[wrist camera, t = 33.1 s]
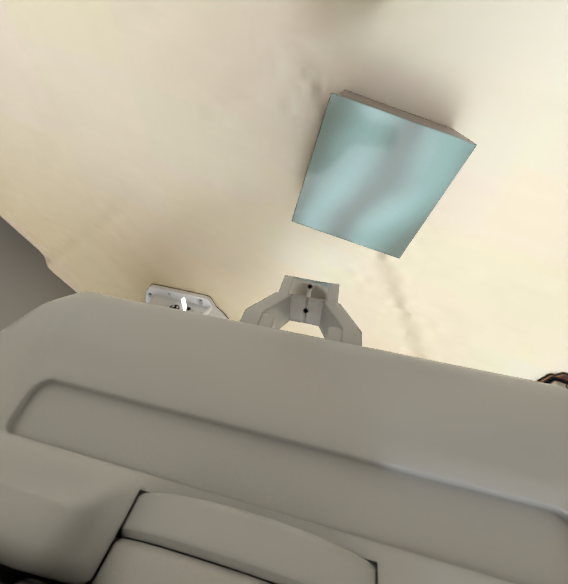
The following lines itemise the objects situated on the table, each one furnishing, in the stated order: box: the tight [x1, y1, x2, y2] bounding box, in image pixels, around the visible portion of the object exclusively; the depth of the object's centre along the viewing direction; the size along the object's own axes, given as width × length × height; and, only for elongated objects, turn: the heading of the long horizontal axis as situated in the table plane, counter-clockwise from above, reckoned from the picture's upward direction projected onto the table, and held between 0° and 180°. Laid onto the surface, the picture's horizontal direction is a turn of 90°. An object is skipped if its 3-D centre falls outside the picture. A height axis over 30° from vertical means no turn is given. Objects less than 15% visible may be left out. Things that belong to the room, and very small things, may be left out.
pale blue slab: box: [292, 92, 476, 258], centre depth 31 cm, size 15×14×1 cm
